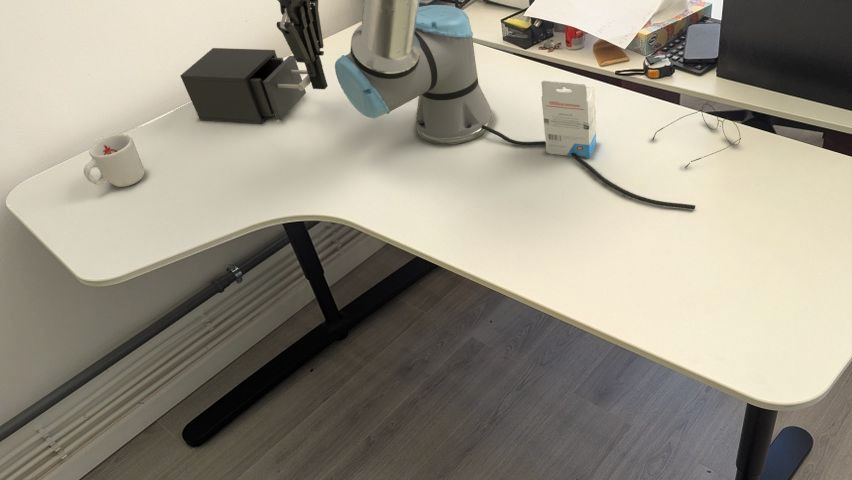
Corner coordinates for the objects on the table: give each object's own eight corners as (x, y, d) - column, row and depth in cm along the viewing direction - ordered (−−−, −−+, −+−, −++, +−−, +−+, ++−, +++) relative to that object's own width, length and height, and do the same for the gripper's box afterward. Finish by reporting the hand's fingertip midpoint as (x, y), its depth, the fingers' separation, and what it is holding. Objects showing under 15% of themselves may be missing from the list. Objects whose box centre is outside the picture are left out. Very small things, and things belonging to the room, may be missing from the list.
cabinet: (289, 94, 162) (274, 49, 155) (261, 124, 154) (244, 78, 147) (230, 91, 167) (212, 47, 159) (199, 120, 158) (179, 75, 151)
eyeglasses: (688, 171, 126) (690, 146, 122) (648, 138, 134) (649, 114, 131) (742, 151, 128) (746, 126, 125) (700, 120, 137) (702, 96, 133)
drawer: (331, 94, 158) (320, 56, 152) (307, 121, 151) (295, 83, 145) (249, 90, 164) (235, 53, 158) (222, 116, 156) (207, 79, 150)
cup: (109, 203, 137) (88, 168, 132) (88, 191, 141) (67, 157, 136) (157, 174, 143) (140, 139, 138) (136, 163, 147) (117, 129, 142)
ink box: (597, 144, 135) (596, 71, 125) (589, 159, 131) (587, 85, 121) (553, 139, 137) (549, 67, 127) (545, 153, 134) (539, 80, 124)
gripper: (285, -41, 140) (318, 71, 156) (251, -14, 131) (289, 102, 148) (319, -41, 138) (349, 73, 154) (287, -13, 129) (322, 104, 146)
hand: (320, 87), depth 151 cm, fingers closed
